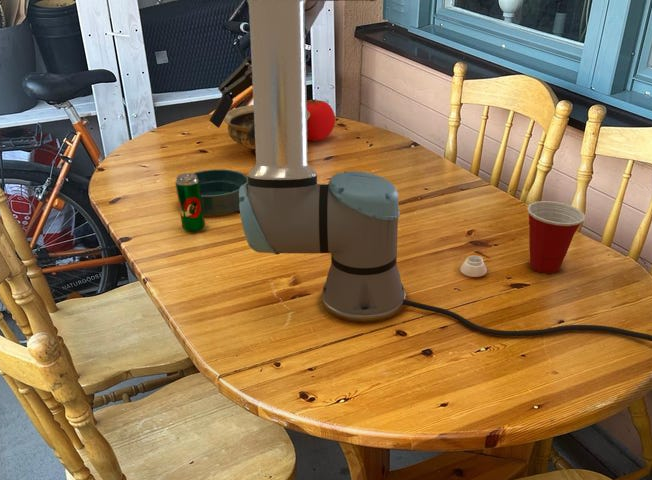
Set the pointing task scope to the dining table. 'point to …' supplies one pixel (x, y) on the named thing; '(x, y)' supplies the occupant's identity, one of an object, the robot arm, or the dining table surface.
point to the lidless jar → (473, 267)
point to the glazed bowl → (220, 190)
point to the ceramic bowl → (242, 125)
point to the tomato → (319, 120)
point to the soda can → (190, 202)
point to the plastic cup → (551, 233)
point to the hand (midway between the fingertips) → (232, 130)
